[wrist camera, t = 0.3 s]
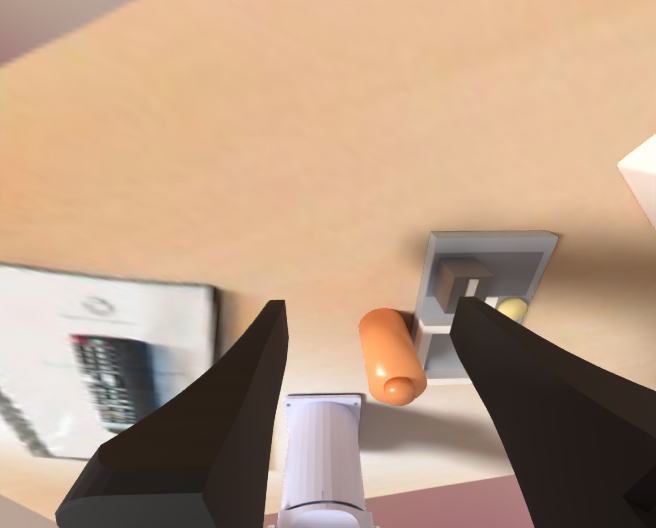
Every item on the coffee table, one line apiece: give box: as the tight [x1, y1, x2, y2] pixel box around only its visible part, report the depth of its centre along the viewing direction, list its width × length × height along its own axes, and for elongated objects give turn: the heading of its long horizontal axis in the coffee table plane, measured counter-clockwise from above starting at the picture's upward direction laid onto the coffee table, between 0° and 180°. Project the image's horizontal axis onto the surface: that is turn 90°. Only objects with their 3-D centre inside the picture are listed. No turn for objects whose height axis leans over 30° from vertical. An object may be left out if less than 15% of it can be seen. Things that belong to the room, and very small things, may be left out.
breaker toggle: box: [432, 258, 494, 314], centre depth 19 cm, size 3×2×3 cm
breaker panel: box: [410, 231, 559, 385], centre depth 22 cm, size 14×8×2 cm, turn 0°
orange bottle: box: [359, 309, 427, 406], centre depth 21 cm, size 4×4×7 cm
